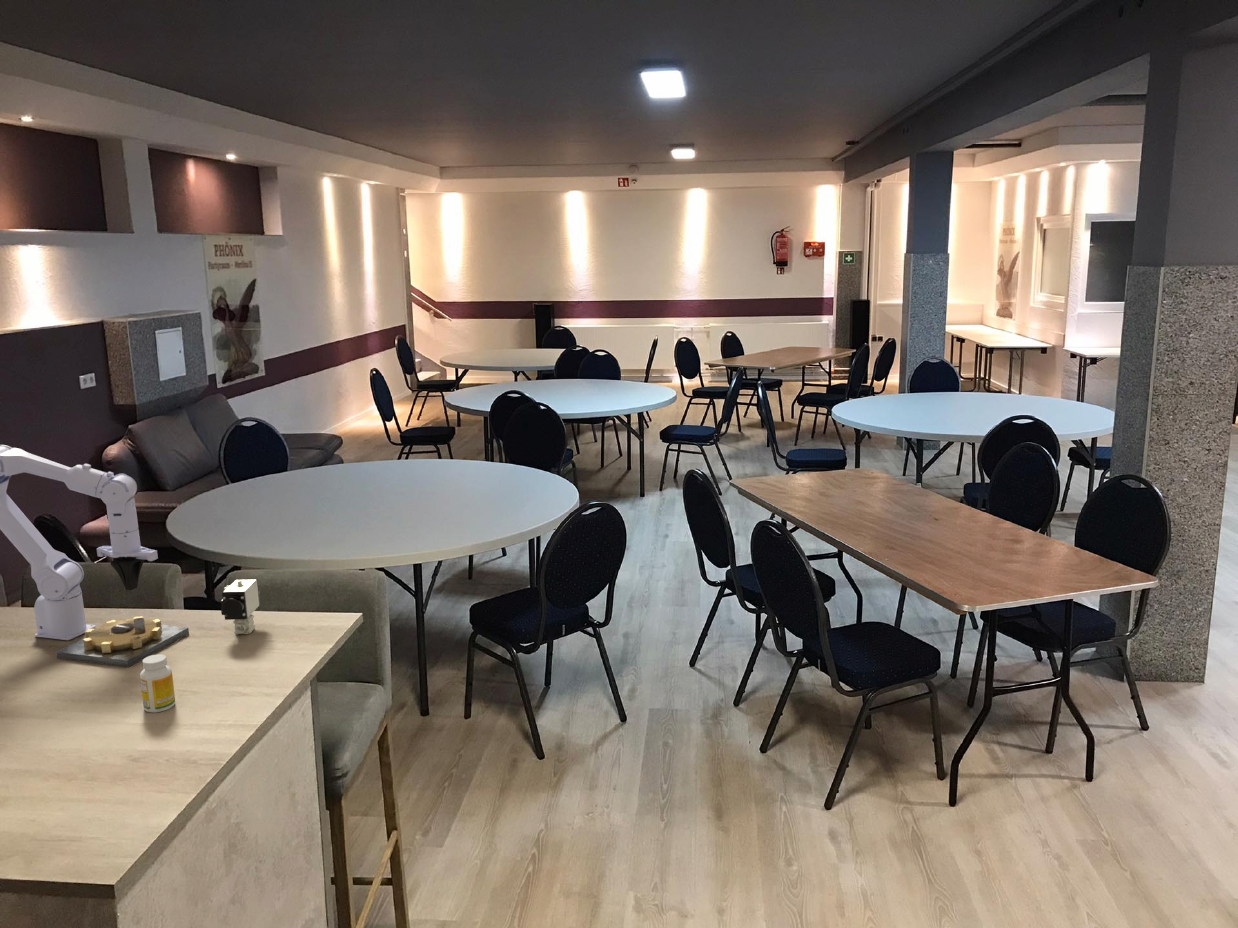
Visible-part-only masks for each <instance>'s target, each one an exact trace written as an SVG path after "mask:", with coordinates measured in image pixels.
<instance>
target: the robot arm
mask: <svg viewBox="0 0 1238 928" xmlns="http://www.w3.org/2000/svg"><path fill="white" fill-rule="evenodd" d="M23 473H27V474H30V475H34V476H38V477H41V478H47V479H50V480H54V481H59V482H63V483H64V484H65V486H66V487H67V489H68V490H70V491H74V492H77V493H80V494H84V495H88V496H91V497H93V498H98V499H100V501H101V500H102V502H103V503H104V504H105V506H106V511H107V512H106V513H107V514H106V515H107V523H108V529H109V536H110V537H109V538H110V545H102V546H98V547H97V548H96V554H97V557H101V558H102V557H110V558H114V559H113V560H111V561H110V566H111V567H113V569H114V570H115V571H116V573H117V574H118V576H119V577H120V580H121V582H122V584H123V586H124V588H125V590H126V591H133V590H135V589H137V588H138V585H139V578H140V574H141V570H142V567H143V565H144V563H145V561H146V560H147V561H148V562H153V561H155V560H157V559H159V557H158V550H157V549H156V550H155V549H151V548H148V547H145V546H142V545H141V539H140V538H141V537H140V530H139V522H138V515H137V514H138V513H137V508H136V502H135V501H136V499H135V497H134V496H135V495H136V494H137V491H138V485H137V482H136V480H135V479H134V478H133V477H131V476H129V475H127V474H126V473H118V474H115V475H114V472H112V471H108V472H106V471H102V470H99V469H95V468H92V465H91V464H89V463H84V464H76V465H75V466H73V467H70V466H67V465H64V464H61V463H58V462H56V461H52V460H50V459H47V458H44V457H41V456H39V455H36V454H33V453H30V452H28V451H25V450H24V449H22V448H17V447H12V446H9V445H5V444H0V531H1V532H2V533H3V534H4V536H5V537H6V538H7V539H8V540H9V542H10V543H11V544H12V545H13V546H14V547H15V548H16V550H18V552H19V553H20V554H21V555H22V556H23V557H24V559H25V560H26V561H27V562H28V563H29V565H30V568H31V571H30V572H31V573H30V574H31V578H32V579H33V580H34V582H35V584H36V586H37V591H38V593H39V594H40V595H39V596H38V597H37V599H36V600H35V603H34V607H33V609H34V618H35V624H36V629H37V630H36V631H37V633H35V634H34V637H36V638H46V639H52V640H53V639H55V640H62V641H71V640H73V639H75V638H77V637H79V636H81V635H83V634H85V632H86V631H87V630H88V629H95V628H97V625H96V624H90V623H89V624H88V623H87V619H86V613H85V607H84V599H83V592H82V588H81V586H80V583H81V582H82V581H83V579H84V577H85V572H84V569H83V567H82V566H81V564H79V563H78V562H77V561H74V560H73V559H71V558H69V557H68V556H67V555H66V553H64V552H61V551H59V550H56V549H54V548H53V547H52V545H51V544H50V543H49V542H48V540H47V539H46V538H45V537H44V536H43V535H42V533H41V532H40V531H39V530H38V528H36V527H35V525H34V524H33V523H32V522H31V520H30V519H29V518H28V517H27V516H26V515H25V514H24V512H23V511H22V510H21V509H20V508H19V507H18V505H17V504H16V503H15V502H14V500H12V498H11V497H10V496H9V495H8V493H7V489H8V486H9V481H10V479H11V477H12V476H14V475H19V474H23Z"/></svg>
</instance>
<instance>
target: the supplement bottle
mask: <svg viewBox="0 0 1238 928" xmlns="http://www.w3.org/2000/svg"><path fill="white" fill-rule="evenodd" d="M141 661H142V668H143V669H142V670H141V672H140V673H139V679H140V688H141V689H140V690H141V697H142V706H143V709H144V711H146V712H147V713H160V712H164V711H168V710H170V709H172V708H173V707H174V706H175V704H176V696H175V685H174V680H173V679H174V678H173V670H172V668H171V666H170V665H167V663H168V659H167V656H166V654H158V653H157V654H152V655H150V656H148V657H146V658H144V659H142V660H141Z"/></svg>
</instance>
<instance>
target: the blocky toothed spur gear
mask: <svg viewBox="0 0 1238 928" xmlns="http://www.w3.org/2000/svg"><path fill="white" fill-rule="evenodd" d="M161 625H162V621H161V620H160V619H159V618H156V619H149V618H144V616H134V617H133V618H126V619H121V620H119V619H118V620H115V619H111V620H108V621H105V623H104V624H101V625H99V626H96V628H94V629H88V630H87V631H86V632H85V633H84V635H85V637H84V638H85V639H84V638H82V639H83V642H84V648H85V649H86V650H90V649H96V650H102V653H111V652H113V651H114V650H122V649H128V648H132V649H136V648H139V647H142V644H145V643H147V642H149V641H151V640H152V639H159V638H160V637H161V630H162V626H161Z"/></svg>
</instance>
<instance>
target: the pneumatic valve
mask: <svg viewBox="0 0 1238 928" xmlns="http://www.w3.org/2000/svg"><path fill="white" fill-rule="evenodd" d="M260 587H261V586H260V585H259V580H258V578H236V579H235V580H234V581H233V582H232V583H231V584H230V585H226V586H225V587H223V592H222V593H221V594H222V595H221V596H222V599H221V600H220V602H219V604H220V605H219V606H220V613H221V616H224V620H225V621H226V620H227V621H229V620H233V624H234V634H235V635H237V636H239V634H240V635H245V634H246V635H250V634H251V633H252V632H253V631H254V629H255V628H256V626H255V625H254V623H255V622H254V617H255V616H254V614H253V613H254V611H256V610H257V609H258V607H259V606H260V605H261V600H260V593H261V588H260Z"/></svg>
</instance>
